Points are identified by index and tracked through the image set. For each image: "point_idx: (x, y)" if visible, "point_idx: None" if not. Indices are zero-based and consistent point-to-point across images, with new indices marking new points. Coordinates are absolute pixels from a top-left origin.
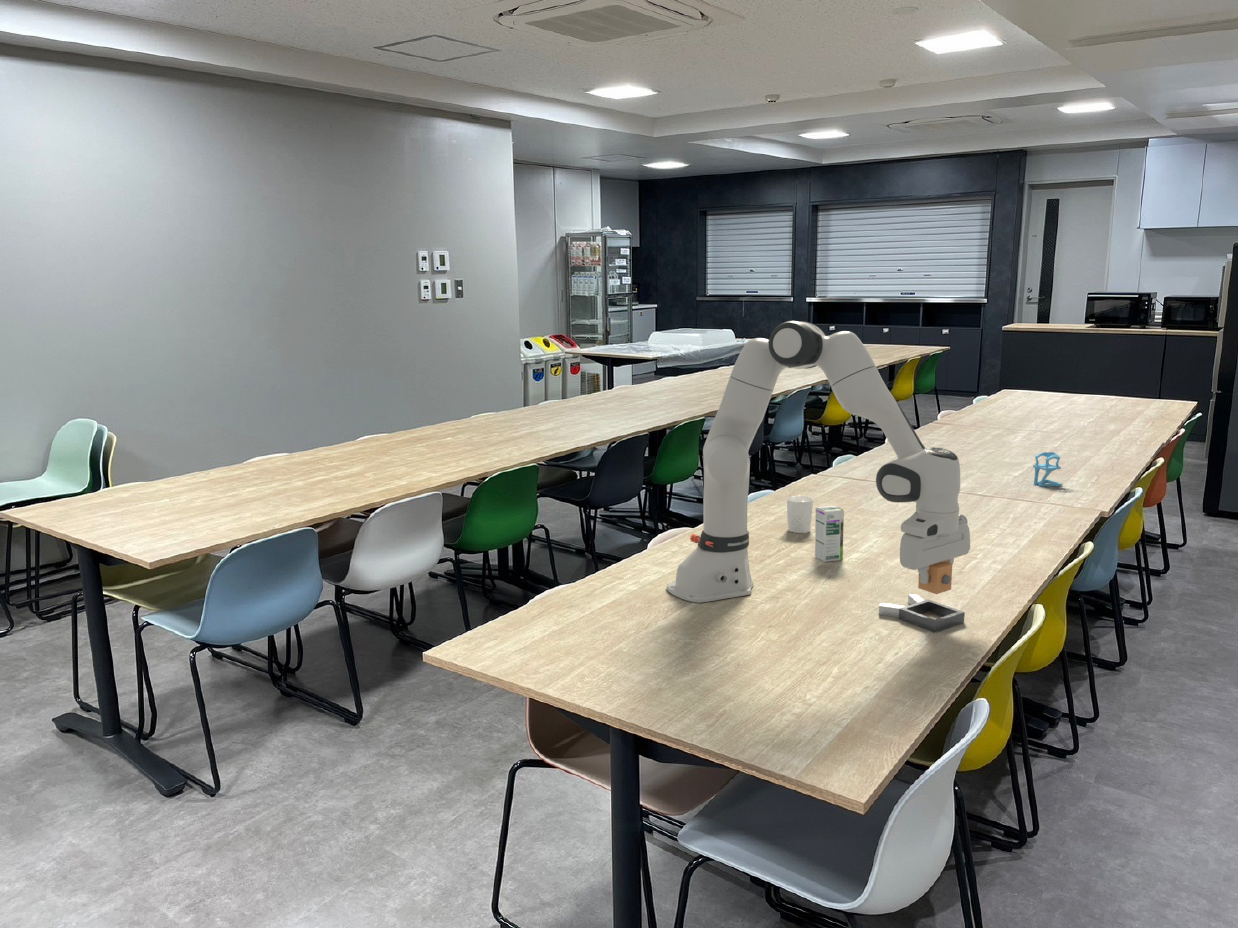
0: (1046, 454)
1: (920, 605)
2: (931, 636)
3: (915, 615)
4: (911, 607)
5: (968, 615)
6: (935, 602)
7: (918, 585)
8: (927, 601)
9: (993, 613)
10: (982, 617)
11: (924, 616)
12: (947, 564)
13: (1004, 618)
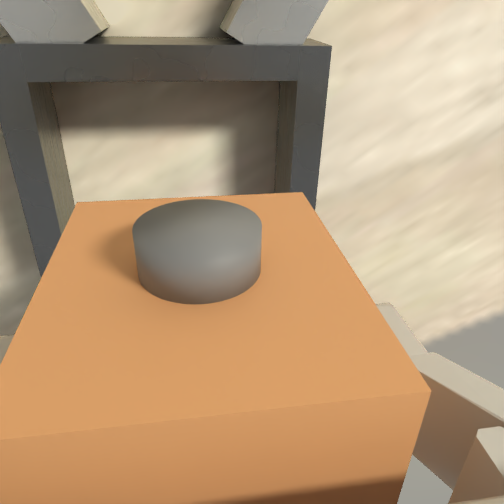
0: None
1: (205, 78)
2: (16, 310)
3: (23, 195)
4: (100, 80)
5: (389, 228)
6: (315, 123)
7: (71, 215)
8: (289, 75)
9: (485, 266)
10: (409, 273)
11: (54, 248)
12: None
13: (456, 318)
